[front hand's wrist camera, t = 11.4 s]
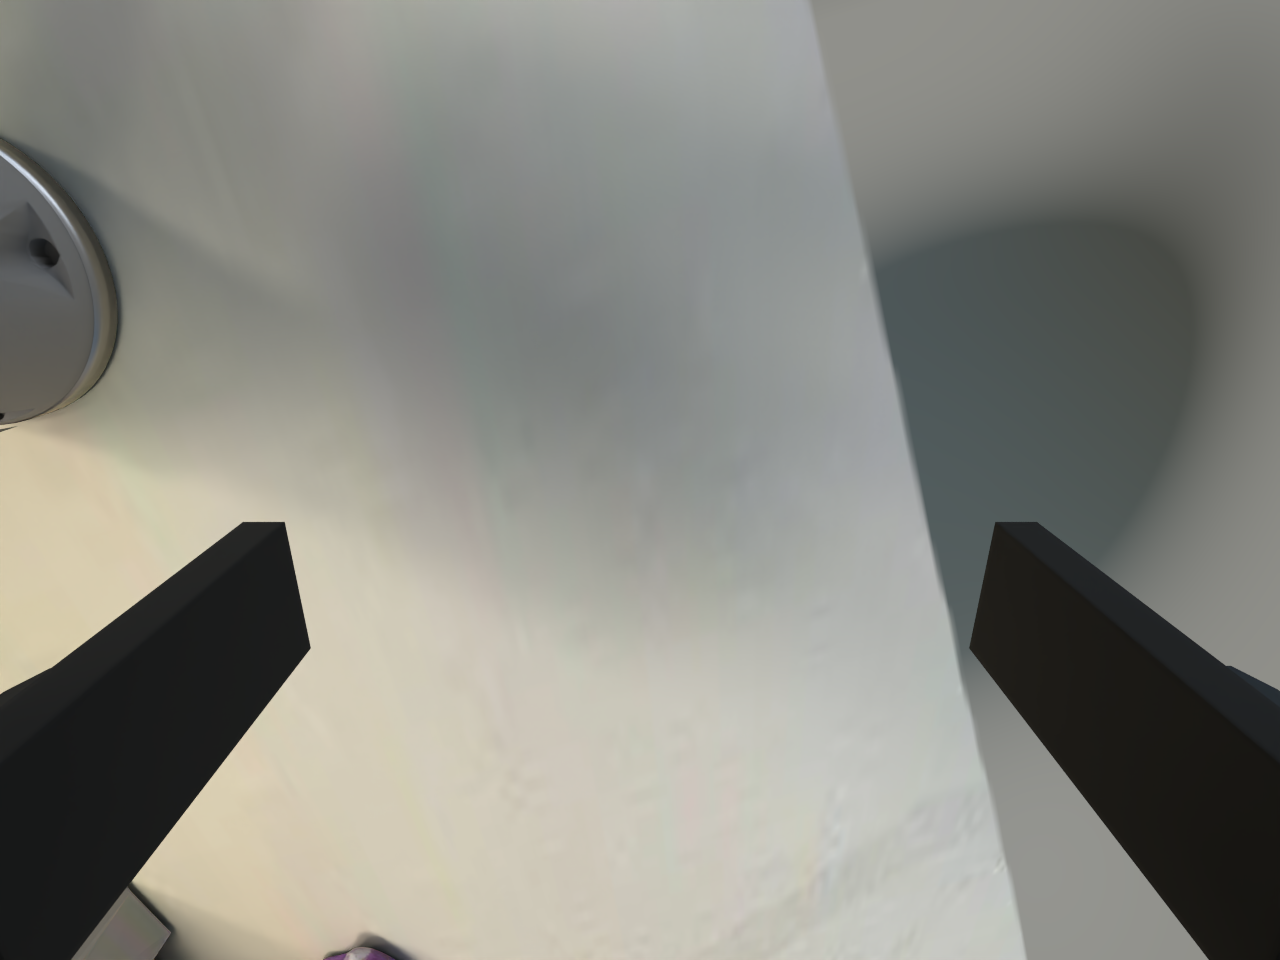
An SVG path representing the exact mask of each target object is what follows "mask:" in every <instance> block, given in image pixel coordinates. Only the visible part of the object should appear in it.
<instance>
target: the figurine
mask: <svg viewBox="0 0 1280 960" xmlns="http://www.w3.org/2000/svg"><path fill="white" fill-rule="evenodd" d="M324 960H395V959H393V958H392V957H390V956H388V955H387V954H385V953H382V952H380V951H378V950H375V949H372V948H367V947H356V948H354V949H352V950H351V951H349V952H348V953H345V954H344V953H343V954H341V955H335V956H331V957H328V958H325V959H324Z"/></svg>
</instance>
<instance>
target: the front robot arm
mask: <svg viewBox="0 0 1280 960" xmlns="http://www.w3.org/2000/svg"><path fill="white" fill-rule="evenodd" d="M116 332H117V301H116V293H115V288H114V283H113V279H112V275H111V272H110V269H109V265H108V262H107V260H106V257H105V255H104V252H103V250H102V247H101V245H100V243H99V241H98V239H97V237H96V235H95V233H94V232H93V230H92V228H91V227H90V225H89V223H88V222H87V220H86V218H85V217H84V215H83V214H82V213H81V211H80V210H79V208H78V207H77V206H76V204H75V203H74V202H73V200H72V199H71V198H70V197H69V196H68V194H67V193H66V192H65V191H64V190H63V188H62V187H61V186H60V185H59V184H58V183H57V182H56V181H55V180H54V179H53V178H52V177H51V176H50V175H49V174H48V173H47V172H46V171H45V170H43V169H42V168H41V167H40V166H39V165H38V164H37V163H35V162H34V161H33V160H32V159H30V158H29V157H28V156H26V155H25V154H24V153H23V152H21V151H20V150H18V149H17V148H15V147H14V146H12V145H11V144H9V143H8V142H6V141H4V140H2V139H1V138H0V425H4V424H11V423H17V422H21V421H25V420H29V419H32V418H35V417H38V416H41V415H44V414H47V413H50V412H53V411H56V410H58V409H61V408H63V407H65V406H67V405H69V404H71V403H73V402H74V401H76V400H77V399H78V398H80V397H81V396H83V395H84V394H85V393H86V392H87V391H88V390H89V389H90V388H91V387H92V386H93V385H94V384H95V383H96V381H97V380H98V379H99V377H100V376H101V374H102V373H103V371H104V370H105V368H106V366H107V363H108V361H109V359H110V357H111V354H112V350H113V347H114V343H115V338H116ZM16 427H17V426H16ZM11 428H14V427H11ZM11 428H6V429H1V430H0V432H2V431H5V430H8V429H11ZM310 648H311V647H310V642H309V638H308V633H307V628H306V623H305V618H304V613H303V609H302V604H301V599H300V594H299V589H298V584H297V580H296V575H295V570H294V565H293V560H292V555H291V551H290V546H289V541H288V536H287V531H286V526H285V522H243V523H241V524H240V525H239V526H237V527H236V528H235V529H233V530H232V531H231V532H229V533H228V534H227V535H226V536H224V537H223V538H222V539H220V540H219V541H218V542H216V543H215V544H214V545H212V546H211V547H210V548H208V549H207V550H206V551H205V552H203V553H202V554H201V555H199V556H198V557H197V558H195V559H194V560H193V561H191V562H190V563H189V564H187V565H186V566H185V567H183V568H182V569H181V570H180V571H178V572H177V573H176V574H174V575H173V576H172V577H170V578H169V579H168V580H166V581H165V582H164V583H162V584H161V585H160V586H159V587H157V588H156V589H155V590H153V591H152V592H151V593H149V594H148V595H147V596H145V597H144V598H143V599H141V600H140V601H139V602H138V603H136V604H135V605H134V606H132V607H131V608H130V609H128V610H127V611H126V612H124V613H123V614H122V615H120V616H119V617H118V618H116V619H115V620H114V621H113V622H111V623H110V624H109V625H107V626H106V627H105V628H103V629H102V630H101V631H99V632H98V633H97V634H95V635H94V636H93V637H92V638H90V639H89V640H88V641H86V642H85V643H84V644H82V645H81V646H80V647H78V648H77V649H76V650H74V651H73V652H72V653H71V654H69V655H68V656H67V657H65V658H64V659H63V660H61V661H60V662H59V663H57V664H56V665H55V666H53V667H52V668H50V669H48V670H46V671H44V672H42V673H40V674H38V675H36V676H34V677H32V678H30V679H28V680H26V681H24V682H22V683H20V684H18V685H16V686H14V687H12V688H11V689H9V690H7V691H5V692H3V693H2V694H0V960H71V959H72V958H73V957H74V955H75V954H76V953H77V951H78V950H79V949H80V947H81V946H82V945H83V944H84V942H85V941H86V940H87V938H88V937H89V936H90V934H91V933H92V932H93V931H94V929H95V928H96V927H97V925H98V924H99V923H100V921H101V920H102V919H103V918H104V916H105V915H106V914H107V912H108V911H109V910H110V908H111V907H112V906H113V905H114V903H115V902H116V901H117V899H118V898H119V897H120V895H121V894H122V893H123V892H124V890H125V889H126V888H127V886H128V885H129V884H130V882H131V881H132V880H133V879H134V877H135V876H136V875H137V873H138V872H139V871H140V869H141V868H142V867H143V866H144V864H145V863H146V862H147V860H148V859H149V858H150V856H151V855H152V854H153V853H154V851H155V850H156V849H157V847H158V846H159V845H160V843H161V842H162V841H163V840H164V838H165V837H166V836H167V834H168V833H169V832H170V830H171V829H172V828H173V827H174V825H175V824H176V823H177V821H178V820H179V819H180V817H181V816H182V815H183V814H184V812H185V811H186V810H187V808H188V807H189V806H190V804H191V803H192V802H193V801H194V799H195V798H196V797H197V795H198V794H199V793H200V791H201V790H202V789H203V788H204V786H205V785H206V784H207V782H208V781H209V780H210V778H211V777H212V776H213V775H214V773H215V772H216V771H217V769H218V768H219V767H220V765H221V764H222V763H223V762H224V760H225V759H226V758H227V756H228V755H229V754H230V752H231V751H232V750H233V749H234V747H235V746H236V745H237V743H238V742H239V741H240V739H241V738H242V737H243V735H244V734H245V733H246V732H247V730H248V729H249V728H250V726H251V725H252V724H253V722H254V721H255V720H256V719H257V717H258V716H259V715H260V713H261V712H262V711H263V709H264V708H265V707H266V706H267V704H268V703H269V702H270V700H271V699H272V698H273V696H274V695H275V694H276V693H277V691H278V690H279V689H280V687H281V686H282V685H283V683H284V682H285V681H286V680H287V678H288V677H289V676H290V674H291V673H292V672H293V670H294V669H295V668H296V667H297V665H298V664H299V663H300V661H301V660H302V659H303V657H304V656H305V655H306V654H307V652H308V651H309V650H310ZM969 648H970V650H971V651H972V652H973V654H974V655H975V656H976V657H977V659H978V660H979V661H980V663H981V664H982V665H983V667H984V668H985V669H986V670H987V672H988V673H989V674H990V676H991V677H992V678H993V680H994V681H995V682H996V683H997V685H998V686H999V687H1000V689H1001V690H1002V691H1003V693H1004V694H1005V695H1006V696H1007V698H1008V699H1009V700H1010V702H1011V703H1012V704H1013V706H1014V707H1015V708H1016V709H1017V711H1018V712H1019V713H1020V715H1021V716H1022V717H1023V719H1024V720H1025V721H1026V722H1027V724H1028V725H1029V726H1030V728H1031V729H1032V730H1033V732H1034V733H1035V734H1036V735H1037V737H1038V738H1039V739H1040V741H1041V742H1042V743H1043V745H1044V746H1045V747H1046V748H1047V750H1048V751H1049V752H1050V754H1051V755H1052V756H1053V758H1054V759H1055V760H1056V761H1057V763H1058V764H1059V765H1060V767H1061V768H1062V769H1063V771H1064V772H1065V773H1066V775H1067V776H1068V777H1069V778H1070V780H1071V781H1072V782H1073V784H1074V785H1075V786H1076V788H1077V789H1078V790H1079V791H1080V793H1081V794H1082V795H1083V797H1084V798H1085V799H1086V800H1087V802H1088V803H1089V804H1090V806H1091V807H1092V808H1093V810H1094V811H1095V812H1096V813H1097V815H1098V816H1099V817H1100V819H1101V820H1102V821H1103V823H1104V824H1105V825H1106V826H1107V828H1108V829H1109V830H1110V832H1111V833H1112V834H1113V836H1114V837H1115V838H1116V840H1117V841H1118V842H1119V843H1120V845H1121V846H1122V847H1123V849H1124V850H1125V851H1126V853H1127V854H1128V855H1129V856H1130V858H1131V859H1132V860H1133V862H1134V863H1135V864H1136V866H1137V867H1138V868H1139V869H1140V871H1141V872H1142V873H1143V875H1144V876H1145V877H1146V879H1147V880H1148V881H1149V882H1150V884H1151V885H1152V886H1153V888H1154V889H1155V890H1156V891H1157V893H1158V894H1159V895H1160V897H1161V898H1162V899H1163V901H1164V902H1165V903H1166V905H1167V906H1168V907H1169V908H1170V910H1171V911H1172V912H1173V914H1174V915H1175V916H1176V917H1177V919H1178V920H1179V921H1180V923H1181V924H1182V925H1183V927H1184V928H1185V929H1186V930H1187V932H1188V933H1189V934H1190V936H1191V937H1192V938H1193V940H1194V941H1195V942H1196V944H1197V945H1198V946H1199V947H1200V949H1201V950H1202V951H1203V953H1204V954H1205V955H1206V957H1207V958H1208V959H1209V960H1280V691H1279V690H1277V689H1275V688H1273V687H1271V686H1269V685H1268V684H1266V683H1264V682H1262V681H1260V680H1258V679H1256V678H1254V677H1252V676H1250V675H1248V674H1246V673H1244V672H1242V671H1240V670H1238V669H1236V668H1234V667H1232V666H1225V665H1224V664H1223V663H1221V662H1220V661H1219V660H1217V659H1216V658H1215V657H1213V656H1212V655H1211V654H1209V653H1208V652H1207V651H1206V650H1204V649H1203V648H1202V647H1200V646H1199V645H1198V644H1196V643H1195V642H1194V641H1192V640H1191V639H1190V638H1188V637H1187V636H1186V635H1185V634H1183V633H1182V632H1181V631H1179V630H1178V629H1177V628H1175V627H1174V626H1173V625H1171V624H1170V623H1169V622H1167V621H1166V620H1165V619H1164V618H1162V617H1161V616H1160V615H1158V614H1157V613H1156V612H1154V611H1153V610H1152V609H1150V608H1149V607H1148V606H1146V605H1145V604H1144V603H1142V602H1141V601H1140V600H1139V599H1137V598H1136V597H1135V596H1133V595H1132V594H1131V593H1129V592H1128V591H1127V590H1125V589H1124V588H1123V587H1121V586H1120V585H1119V584H1118V583H1116V582H1115V581H1114V580H1112V579H1111V578H1110V577H1108V576H1107V575H1106V574H1104V573H1103V572H1102V571H1100V570H1099V569H1098V568H1097V567H1095V566H1094V565H1093V564H1091V563H1090V562H1089V561H1087V560H1086V559H1085V558H1083V557H1082V556H1081V555H1079V554H1078V553H1077V552H1075V551H1074V550H1073V549H1072V548H1070V547H1069V546H1068V545H1066V544H1065V543H1064V542H1062V541H1061V540H1060V539H1058V538H1057V537H1056V536H1054V535H1053V534H1052V533H1050V532H1049V531H1048V530H1047V529H1045V528H1044V527H1043V526H1041V525H1040V524H1039V523H1037V522H995V526H994V531H993V536H992V541H991V546H990V551H989V555H988V560H987V565H986V570H985V575H984V580H983V584H982V589H981V594H980V599H979V604H978V609H977V614H976V618H975V623H974V628H973V633H972V638H971V643H970V647H969Z"/></svg>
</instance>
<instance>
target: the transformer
mask: <svg viewBox="0 0 1280 960" xmlns="http://www.w3.org/2000/svg"><path fill="white" fill-rule="evenodd" d="M170 934H171V932H170V931H169V930H168V929H167V928H166V927H165V926H164V925H163V924H162V923H161V922H160V921H159V920H158V919H157V918H156V917H155V916H154V915H153V914H152V913H151V912H150V911H149V909H148V908H147V907H146V906H145V905H144V904H143V903H142V902H141V901H140V900H139V899H138V898H137V897H136V896H135V895H134V894H133V893H132V892H131V891H130V889H129V888H128V886H127V888H126V889H125V890H124V892H123V893H122V894H121V895H120V897H119V898H118V899H117V901H116V902H115V903H114V905H113V906H112V907H111V908H110V910H109V911H108V912H107V914H106V915H105V916H104V918H103V919H102V920H101V921H100V923H99V924H98V925H97V927H96V928H95V929H94V931H93V932H92V933H91V934H90V936H89V937H88V938H87V940H86V941H85V942H84V944H83V945H82V946H81V947H80V949H79V950H78V951H77V953H76V954H75V955H74V957H73V958H72V959H71V960H155V959H154V958H155V957H156V955H157V954H158V952H159V951H160V949H161V947H162V946H163V944H164V943H165V941H166V940H167V938H168V937H169V935H170Z"/></svg>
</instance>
